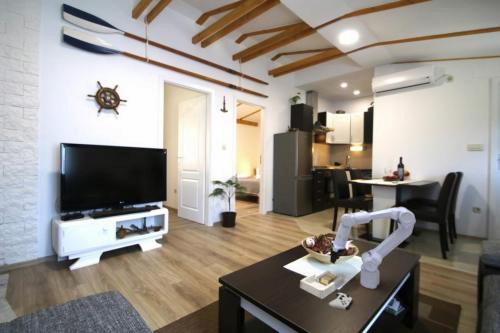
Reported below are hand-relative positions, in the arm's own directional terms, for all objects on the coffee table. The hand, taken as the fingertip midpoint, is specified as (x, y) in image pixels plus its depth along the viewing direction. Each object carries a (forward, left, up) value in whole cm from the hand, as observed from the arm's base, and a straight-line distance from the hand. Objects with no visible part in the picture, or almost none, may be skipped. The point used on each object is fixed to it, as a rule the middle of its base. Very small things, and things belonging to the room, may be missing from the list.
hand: (334, 260), depth 120 cm
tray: (+15, 0, -10) cm, 19 cm away
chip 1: (+7, 0, -9) cm, 12 cm away
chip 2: (+3, 0, -9) cm, 10 cm away
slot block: (+4, 0, -10) cm, 11 cm away
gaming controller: (+16, +13, -11) cm, 24 cm away
